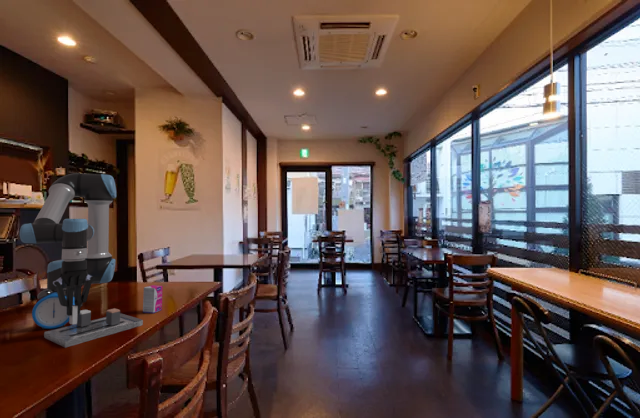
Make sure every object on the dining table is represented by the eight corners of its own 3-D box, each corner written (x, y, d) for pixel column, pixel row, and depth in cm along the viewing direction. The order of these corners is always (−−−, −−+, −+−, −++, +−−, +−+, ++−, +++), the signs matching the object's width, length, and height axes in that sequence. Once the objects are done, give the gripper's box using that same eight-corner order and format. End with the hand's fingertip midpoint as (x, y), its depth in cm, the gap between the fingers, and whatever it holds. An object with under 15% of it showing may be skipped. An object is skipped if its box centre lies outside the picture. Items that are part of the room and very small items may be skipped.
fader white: (76, 325, 122) (76, 311, 122) (85, 322, 124) (85, 309, 124) (81, 326, 120) (81, 313, 120) (90, 324, 122) (90, 311, 122)
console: (44, 337, 115) (44, 331, 115) (120, 318, 138) (120, 312, 138) (65, 347, 106) (65, 340, 107) (142, 325, 129) (142, 319, 129)
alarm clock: (30, 331, 121) (31, 292, 121) (37, 326, 127) (38, 288, 127) (73, 326, 127) (74, 288, 127) (77, 322, 132) (78, 285, 133)
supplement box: (153, 313, 144) (154, 288, 144) (142, 313, 145) (142, 287, 145) (162, 310, 150) (162, 285, 150) (151, 309, 151) (151, 284, 151)
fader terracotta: (106, 323, 123) (106, 310, 123) (114, 321, 126) (114, 308, 126) (111, 325, 121) (111, 311, 121) (119, 323, 124) (120, 309, 124)
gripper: (57, 262, 112) (56, 330, 112) (98, 258, 123) (97, 320, 123) (48, 261, 116) (47, 326, 116) (89, 257, 127) (88, 317, 127)
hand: (73, 323), depth 119 cm, fingers closed
